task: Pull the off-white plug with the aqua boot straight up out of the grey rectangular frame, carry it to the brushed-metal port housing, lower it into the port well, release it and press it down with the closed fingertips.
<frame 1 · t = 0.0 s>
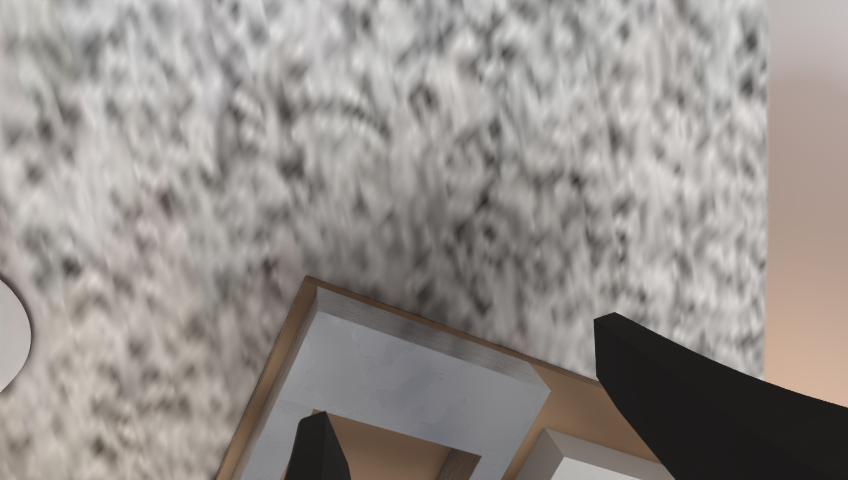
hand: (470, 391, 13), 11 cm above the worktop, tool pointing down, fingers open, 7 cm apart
panel board: (468, 468, 27), on the worktop
port: (365, 440, 25), resting on panel board
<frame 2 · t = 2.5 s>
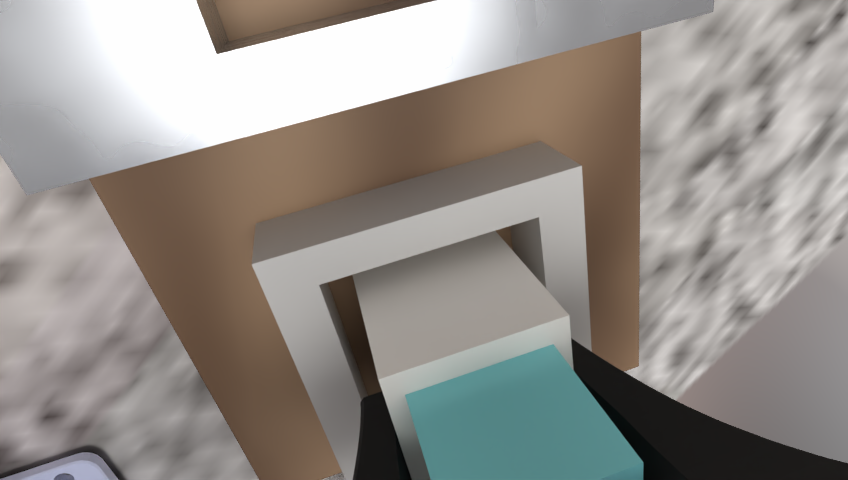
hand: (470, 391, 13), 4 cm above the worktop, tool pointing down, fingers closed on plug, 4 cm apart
panel board: (377, 90, 13), on the worktop
plug: (436, 320, 16), point 1 cm above the worktop, touching gripper, panel board
grey rectangular frame: (430, 306, 16), resting on panel board
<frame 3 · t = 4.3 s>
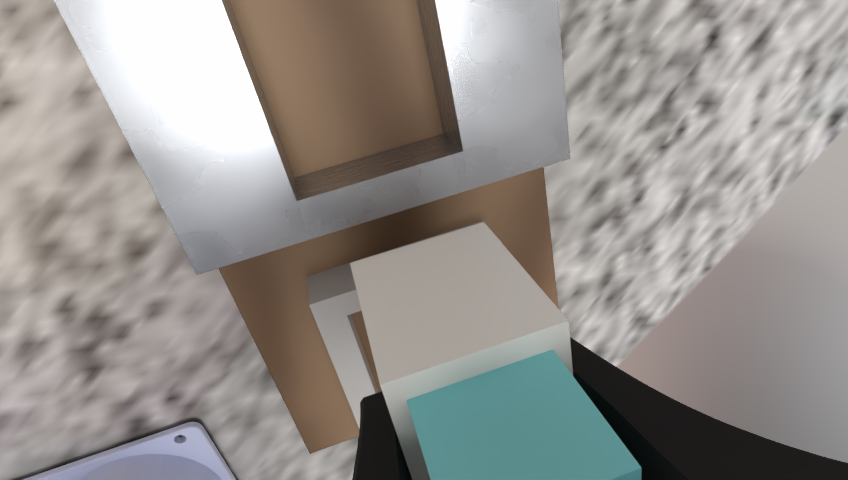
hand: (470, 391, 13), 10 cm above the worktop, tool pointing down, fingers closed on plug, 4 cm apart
panel board: (379, 194, 21), on the worktop
plug: (437, 323, 16), point 7 cm above the worktop, touching gripper
grey rectangular frame: (416, 322, 25), resting on panel board
port: (337, 46, 18), resting on panel board
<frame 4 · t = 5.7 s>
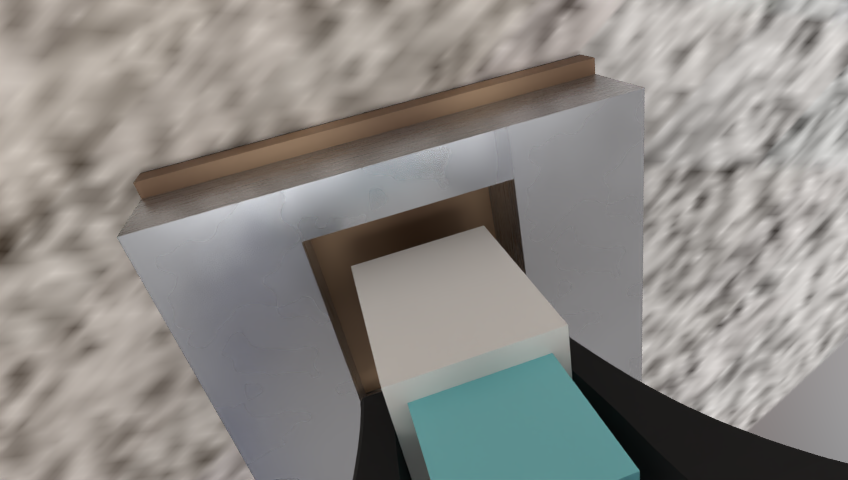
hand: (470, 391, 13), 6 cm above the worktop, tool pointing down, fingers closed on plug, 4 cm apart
panel board: (443, 389, 21), on the worktop
plug: (437, 326, 16), point 3 cm above the worktop, touching gripper
port: (413, 272, 18), resting on panel board
when the fingers open (5 cm above the worktop, at t = 6.5 s): plug stays where it is, resting on panel board.
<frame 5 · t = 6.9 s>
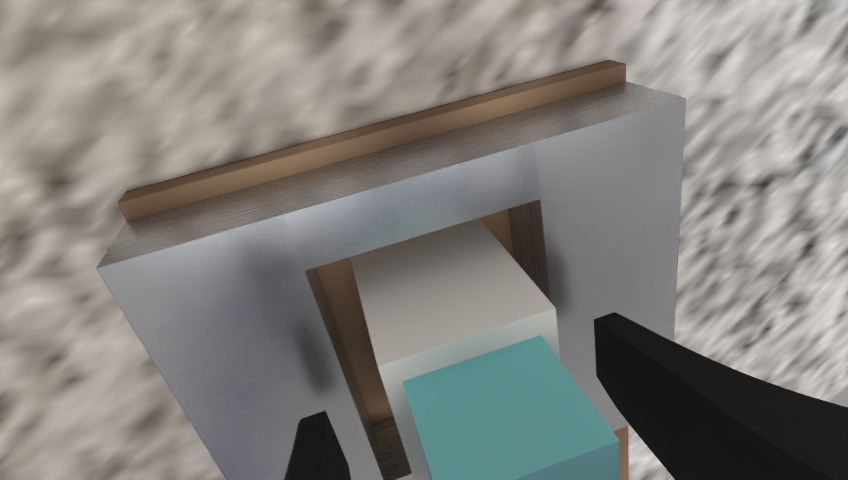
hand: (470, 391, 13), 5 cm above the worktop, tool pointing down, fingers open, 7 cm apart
panel board: (455, 417, 20), on the worktop
plug: (433, 315, 17), point 1 cm above the worktop, touching panel board
port: (424, 294, 17), resting on panel board
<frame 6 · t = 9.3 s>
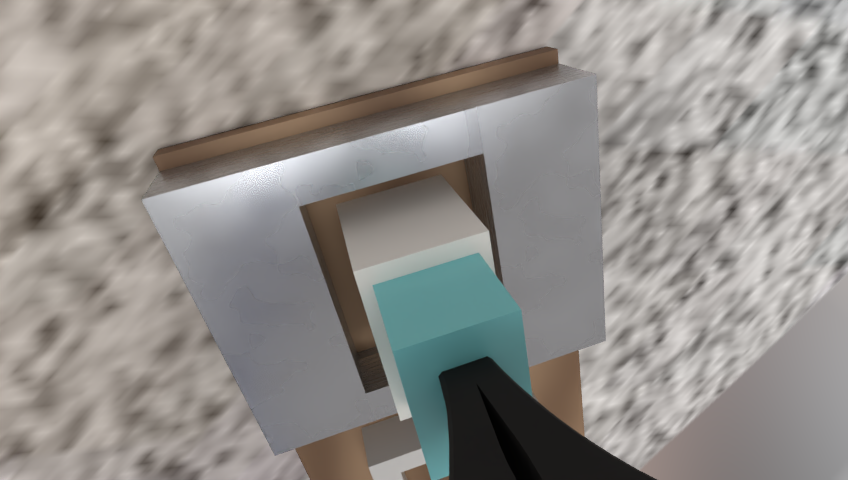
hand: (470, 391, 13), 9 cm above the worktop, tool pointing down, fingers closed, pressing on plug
panel board: (428, 353, 23), on the worktop
plug: (406, 258, 20), point 1 cm above the worktop, touching gripper, panel board
grey rectangular frame: (454, 452, 27), resting on panel board
port: (400, 242, 21), resting on panel board
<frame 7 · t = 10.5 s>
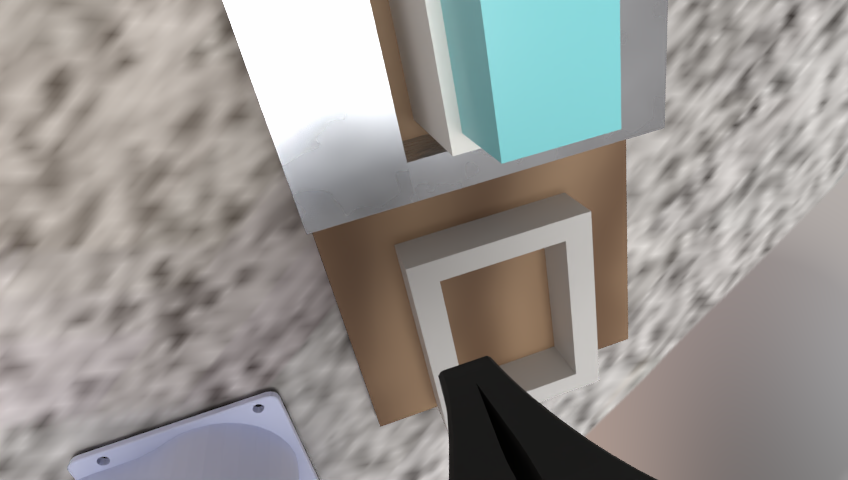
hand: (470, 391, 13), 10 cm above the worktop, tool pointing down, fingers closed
panel board: (467, 164, 22), on the worktop
plug: (449, 23, 18), point 1 cm above the worktop, touching panel board
grey rectangular frame: (489, 296, 25), resting on panel board
port: (441, 13, 19), resting on panel board
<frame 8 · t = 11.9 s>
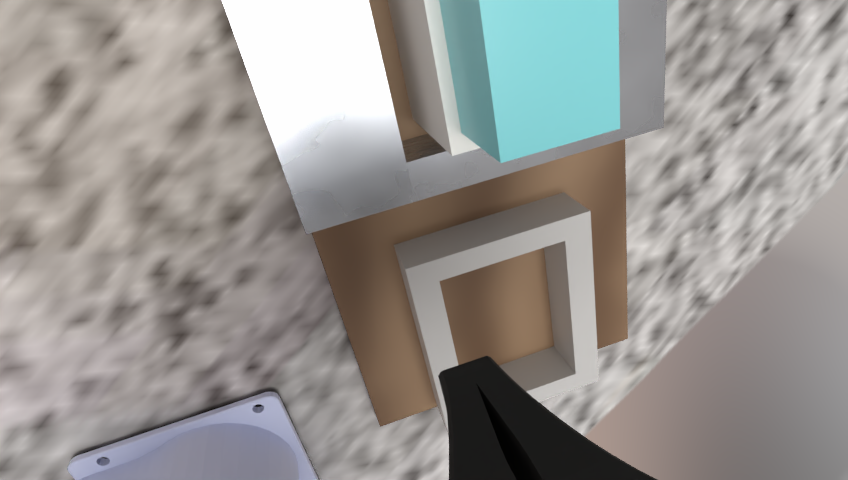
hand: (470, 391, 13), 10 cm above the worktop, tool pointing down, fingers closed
panel board: (466, 164, 22), on the worktop
plug: (448, 23, 18), point 1 cm above the worktop, touching panel board
grey rectangular frame: (489, 296, 25), resting on panel board
port: (440, 13, 19), resting on panel board
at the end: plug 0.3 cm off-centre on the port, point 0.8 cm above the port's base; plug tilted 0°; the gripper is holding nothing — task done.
